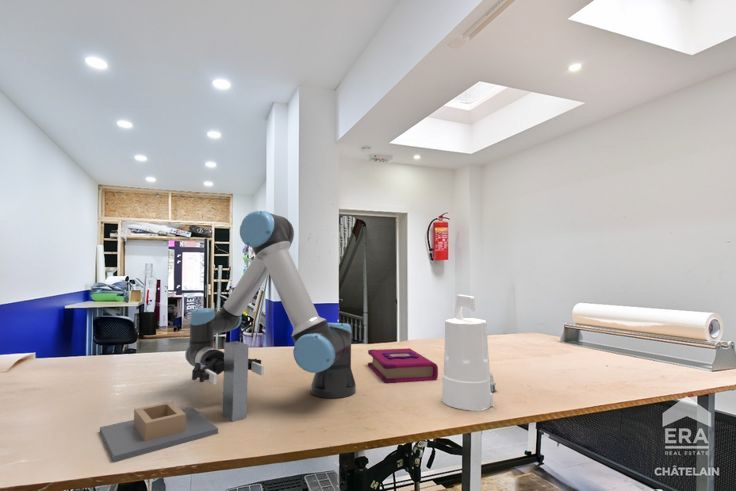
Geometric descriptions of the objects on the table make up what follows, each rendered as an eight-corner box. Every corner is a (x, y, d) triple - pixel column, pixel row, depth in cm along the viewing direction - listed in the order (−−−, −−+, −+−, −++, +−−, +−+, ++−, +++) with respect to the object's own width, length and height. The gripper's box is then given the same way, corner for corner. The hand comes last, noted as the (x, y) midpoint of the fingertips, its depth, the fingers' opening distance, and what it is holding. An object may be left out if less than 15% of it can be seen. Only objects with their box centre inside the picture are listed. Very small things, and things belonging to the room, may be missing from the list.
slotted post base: (191, 411, 111) (192, 392, 111) (218, 433, 96) (218, 412, 97) (99, 432, 96) (100, 410, 97) (114, 462, 82) (115, 436, 82)
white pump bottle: (503, 406, 117) (501, 296, 119) (463, 413, 111) (462, 297, 113) (469, 391, 131) (468, 293, 133) (432, 397, 125) (432, 294, 127)
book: (412, 363, 172) (412, 346, 173) (438, 381, 145) (438, 360, 145) (367, 366, 167) (367, 348, 168) (384, 384, 140) (384, 363, 141)
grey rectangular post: (235, 411, 112) (238, 341, 113) (246, 418, 106) (248, 344, 108) (222, 414, 109) (224, 342, 110) (232, 421, 104) (234, 346, 105)
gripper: (248, 366, 130) (280, 380, 114) (168, 380, 113) (192, 398, 98) (249, 344, 130) (280, 354, 115) (169, 354, 114) (193, 368, 98)
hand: (240, 374), depth 106 cm, fingers open, 13 cm apart
